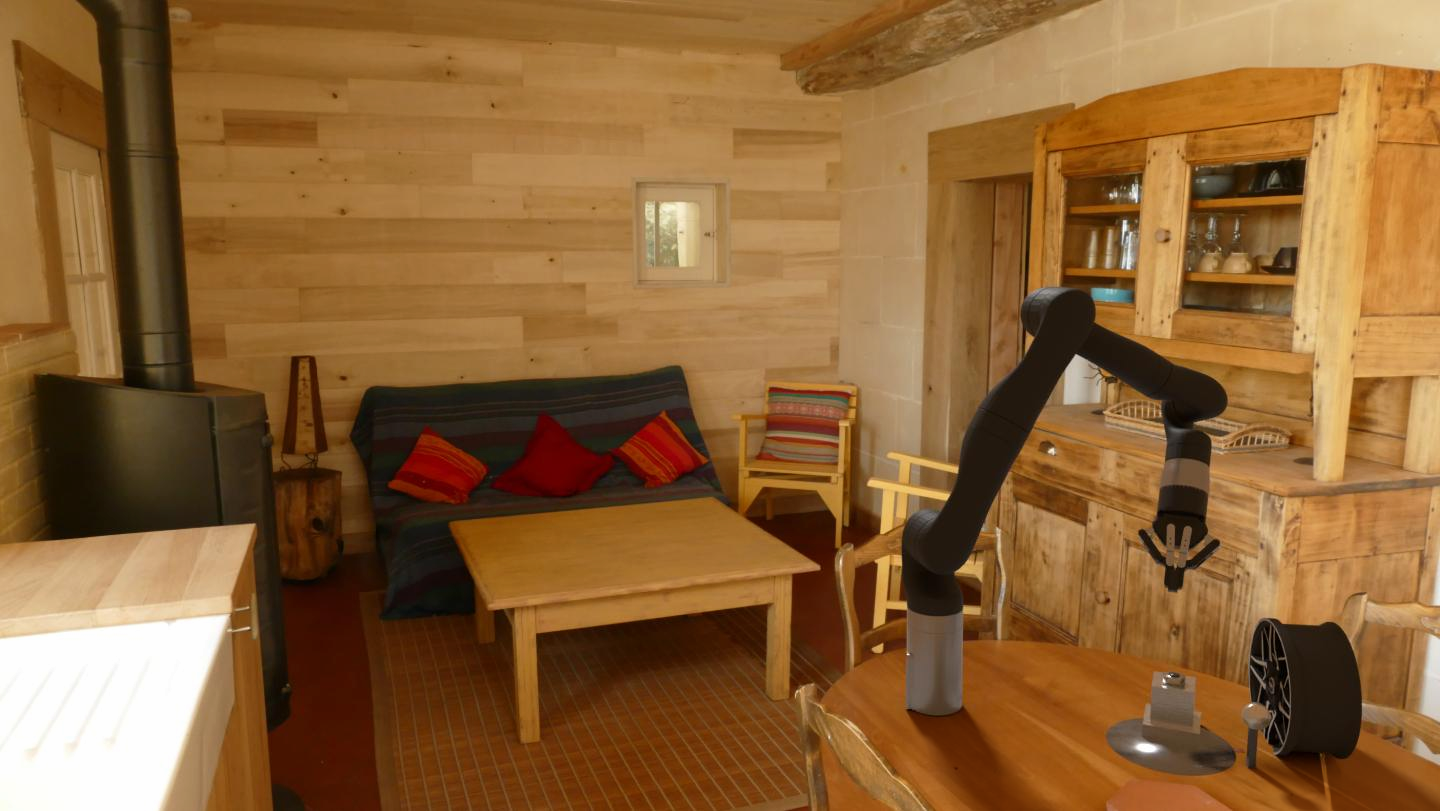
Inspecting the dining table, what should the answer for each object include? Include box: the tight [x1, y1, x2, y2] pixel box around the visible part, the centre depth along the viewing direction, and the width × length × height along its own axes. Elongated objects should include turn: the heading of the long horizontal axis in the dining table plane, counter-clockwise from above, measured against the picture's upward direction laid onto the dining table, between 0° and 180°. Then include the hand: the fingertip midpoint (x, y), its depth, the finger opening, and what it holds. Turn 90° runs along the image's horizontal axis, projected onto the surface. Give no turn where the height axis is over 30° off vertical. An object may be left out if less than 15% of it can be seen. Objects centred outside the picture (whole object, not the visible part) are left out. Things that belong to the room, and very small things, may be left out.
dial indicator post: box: [1241, 701, 1272, 770], centre depth 147 cm, size 4×3×11 cm
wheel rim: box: [1248, 617, 1363, 760], centre depth 153 cm, size 20×9×20 cm, turn 168°
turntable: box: [1105, 717, 1246, 776], centre depth 154 cm, size 19×18×1 cm
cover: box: [1142, 670, 1202, 746], centre depth 158 cm, size 8×8×9 cm
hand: (1172, 591), depth 165 cm, fingers closed
